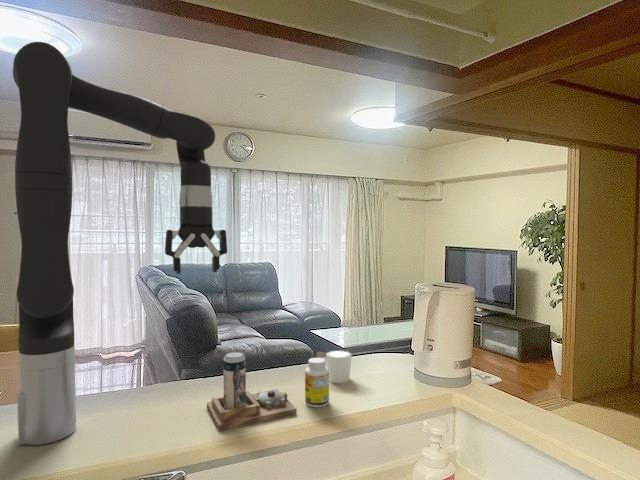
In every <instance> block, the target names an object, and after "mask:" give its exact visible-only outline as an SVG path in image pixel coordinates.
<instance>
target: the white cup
mask: <svg viewBox="0 0 640 480" xmlns="http://www.w3.org/2000/svg"><path fill="white" fill-rule="evenodd" d="M325 354H326V355H325V356H326V367H327V368H328V369H329V382H331V383H334V384H346V383H348V382H349V381H350V378H351V377H350V376H351V368H352V367H351V366H352V355H353V354H352V353H351V352H350V351H346V350H331V351H328V352H326V353H325Z"/></svg>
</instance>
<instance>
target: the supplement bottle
mask: <svg viewBox="0 0 640 480" xmlns="http://www.w3.org/2000/svg"><path fill="white" fill-rule="evenodd" d="M329 397H330V381H329V369H328V368H327V363H326V359H324V358H322V357H311V358H309V359H308V363H307V367H306V368H305V370H304V399H305V400H304V401H305V404H306V405H307V406H309V407H311V408H323V407H325V406H327V405H328V404H329V401H330V398H329Z"/></svg>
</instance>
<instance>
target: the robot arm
mask: <svg viewBox="0 0 640 480" xmlns="http://www.w3.org/2000/svg"><path fill="white" fill-rule="evenodd" d="M12 77H13V80H14V83H15V84H16V86H17V88H18V92H19V93H18V95H19V102H20V103H19V104H20V126H19V132H18V137H17V143H16V149H15V161H14V163H15V164H14V191H15V193H14V195H15V201H16V203H15V204H16V213H17V222H18V227H19V232H20V233H19V235H20V240H21V252H20V253H21V254H20V264H19V266H20V267H19V276H18V282H17V287H16V301H17V303H18V323H19V324H18V365H19V367H18V369H19V371H18V372H19V392H18V394H17V404H16V405H17V433H18V435H17V438H18V446H24V445H30V446H38V445H47V444H51V443H54V442H58V441H60V440H63V439H65V438H68V436H70V435H72V434H73V433H74V432H75V431H76V429H77V408H76V407H77V402H76V401H77V398H76V394H77V393H76V358H75V357H76V356H75V355H76V349H75V320H74V294H75V288H74V284H73V280H72V279H73V278H72V273H71V267H70V265H71V264H70V259H69V258H70V257H69V245H68V244H69V232H70V226H71V218H72V209H73V208H72V207H73V168H72V166H73V165H72V153H71V151H72V150H71V143H70V135H69V125H68V120H69V119H68V116H69V108H71V109H74V110H78V111H81V112H84V113H88V114H92V115H95V116H99V117H101V118H103V119H107V120H109V121H112V122H114V123H118V124H121V125H123V126H126V127H128V128H131V129H133V130H136V131H138V132H141V133H143V134H147V135H149V136H151V137H154V138H158V139H171V140H174V141H175V143H176V144H175V145H176V152H177V156H178V157H177V158H178V162H179V166H180V189H179V190H180V191H179V201H178V204H179V229H178V230H172V229H167V230H165V243H164V244H165V245H164V254H165V255H166V256H169V257H172V267H173V271H174V272H175V274H177V275H179V274H181V269H182V268H181V258H180V256H181V255H182V254H183V252H185V250H186V249H187V248H190V249H195V248H202V249H203V248H205V247H206V248H207V250H208V251H209V252H210V253H211V254H212V256H211V271H212V273H217V271H219V269H220V257H221V256H223V255H226V254H227V253H228V245H227V243H228V242H227V241H228V240H227V231H226V230H225V229H217V230H215V229H214V227H213V192H212V169H211V166H210V164H208V163H207V162H206V158H205V157H206V156H205V150H208V149H209V148H211V146H213V144H214V143H215V139H216V133H215V129H214V128H213V126H212V125H211V124H210V123H209V122H207V121H206V120H205V119H203V118H200V117H197V116H195V115H192V114H187V113H185V112H180V111H176V110H173V109H172V110H171V109H169V108H167V107H165V106H162V105H160V104H157V103H156V102H153V101H151V100H149V99H147V98H144V97H141V96H138V95H135V94H132V93H127V92H124V91H119V90H113V89H110V88H106V87H103V86H100V85H96V84H94V83H91V82H89V81H86V80H84V79H82V78H80V77H78V76H76V75H74V74H73V72H72V66H71V65H70V62H69V60H68V59H67V57H66V56H65V55H64V53H63V52H62V51H60V49H58V48H57V47H56V46H54V45H53V44H50V43H47V42H45V41H31V42H29V43H27V44H25V45H24V46H22V47H21V48H19V49H18V51H17V52H16V54H15V55H14V58H13V64H12ZM177 236H178V237H179V238H180V240H182V241H181V242H180V244H179V245H178V246H177V248H176V249H175V251H173V249H172V248H173V240H175V239H176V237H177ZM214 236H215V237H216V239H218V240H219V249H217V247H216V246H215V245H214V243H213V242H212V241H211V240H212V239H213V238H214Z"/></svg>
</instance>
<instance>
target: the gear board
mask: <svg viewBox="0 0 640 480" xmlns="http://www.w3.org/2000/svg"><path fill="white" fill-rule="evenodd" d="M206 409H207V411H208V412H209V415H210V416H211V418H212V420H213V422H214V424H215V426H216V427H217V430H218V431H219V432H222V431H225V430H229V429H231V430H232V429H234V428H239V427H243V426H248V425H253V424H257V423H262V422H266V421H272V420H276V419H281V418H285V417H289V416H294V415H297V413H298V412H297V408H296V407H295V406H294V404H292V403H291V402H290V400H288V393H287V392H283V391H280V390H278V389H270V390H265V391H259V392H257V393H251V392H250V391H248V390H247V391H246V406H243V407H238V408H233V409H228V410H225V409H224V395H220V396H216V397H212V398H211V401H209V402H206Z"/></svg>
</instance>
